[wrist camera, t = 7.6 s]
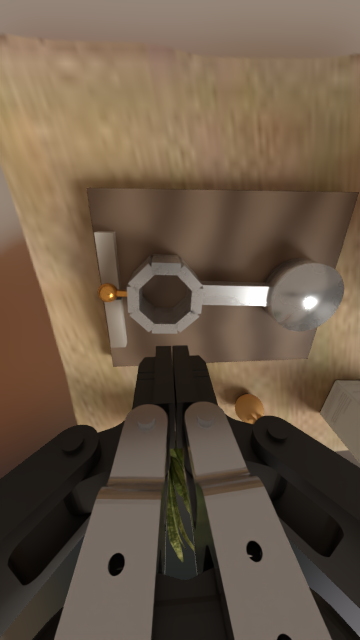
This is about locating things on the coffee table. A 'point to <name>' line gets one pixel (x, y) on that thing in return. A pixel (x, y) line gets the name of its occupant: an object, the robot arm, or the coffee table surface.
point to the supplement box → (344, 413)
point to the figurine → (249, 408)
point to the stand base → (212, 261)
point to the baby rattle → (235, 294)
